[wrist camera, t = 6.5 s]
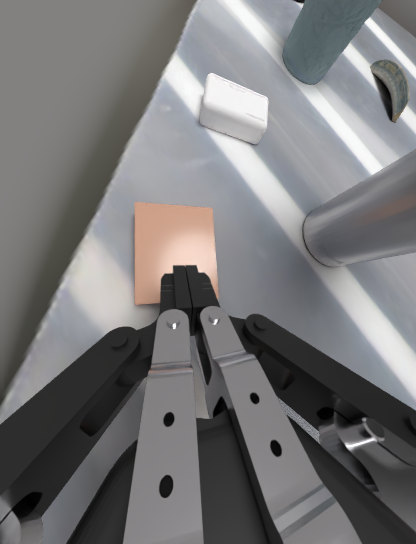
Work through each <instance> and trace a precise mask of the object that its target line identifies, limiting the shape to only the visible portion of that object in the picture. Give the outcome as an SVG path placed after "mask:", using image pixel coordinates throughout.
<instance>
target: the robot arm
mask: <svg viewBox="0 0 416 544" xmlns="http://www.w3.org/2000/svg"><path fill="white" fill-rule="evenodd" d="M303 232H304V239H305V243H306V245H307V247H308V249H309V251H310V252H311V254H312V255H313V256H314V257H315V258H316V259H317V260H318V261H319V262H321V263H322V264H324V265H327V266H331V267H337V266H343V265H348V264H354V263H359V262H365V261H371V260H377V259H382V258H387V257H393V256H398V255H404V254H409V253H415V252H416V149H415V150H414V151H412V152H410V153H409V154H407V155H405V156H404V157H402V158H400V159H399V160H397V161H395V162H394V163H392V164H390V165H389V166H387V167H385V168H384V169H382V170H380V171H379V172H377V173H375V174H374V175H372V176H370V177H369V178H367V179H365V180H364V181H362V182H360V183H358V184H357V185H355V186H353V187H352V188H350V189H348V190H347V191H345V192H343V193H342V194H340V195H338V196H337V197H335V198H333V199H332V200H330V201H328V202H327V203H325V204H323V205H321V206H320V207H318V208H316V209H315V210H313V211H312V212H311V213H310V214H308V216H307V218H306V220H305V223H304V229H303ZM189 332H190V336H194V335H195V338H196V353H197V357H198V362H199V366H200V370H201V374H202V378H203V383H204V387H205V398H206V405H207V410H208V414H209V419H203V418H196V411H195V395H194V379H193V368H192V365H191V354H190V336H189ZM145 377H147V382H146V389H145V395H144V402H143V409H142V416H141V423H140V430H139V437H138V439H137V440H136V441H135V442H134V443H133V444H132V445H131V446H130V447H128V448H127V449H126V451H125V452H124V453H123V454H122V455H121V456H120V458H119V459H118V460H117V462H116V463H115V464H114V466H113V467H112V469H111V470H110V472H109V473H108V475H107V476H106V478H105V480H104V481H103V483H102V485H101V486H100V488H99V490H98V491H97V493H96V495H95V496H94V498H93V500H92V501H91V503H90V505H89V506H88V508H87V510H86V511H85V513H84V515H83V516H82V518H81V520H80V521H79V523H78V525H77V526H76V528H75V530H74V531H73V533H72V535H71V536H70V538H69V540H68V541H67V543H66V544H416V411H415V410H414V409H412V408H411V407H409V406H407V405H406V404H404V403H403V402H401V401H399V400H398V399H396V398H395V397H393V396H391V395H390V394H388V393H387V392H385V391H383V390H382V389H380V388H378V387H377V386H375V385H374V384H372V383H370V382H369V381H367V380H366V379H364V378H362V377H361V376H359V375H358V374H356V373H354V372H353V371H351V370H350V369H348V368H346V367H345V366H343V365H342V364H340V363H338V362H337V361H335V360H334V359H332V358H330V357H329V356H327V355H325V354H324V353H322V352H321V351H319V350H317V349H316V348H314V347H313V346H311V345H309V344H308V343H306V342H305V341H303V340H301V339H300V338H298V337H297V336H295V335H293V334H292V333H290V332H289V331H287V330H285V329H284V328H282V327H280V326H279V325H277V324H276V323H274V322H272V321H271V320H269V319H268V318H266V317H264V316H262V315H259V314H252V315H249V316H248V317H247V318H246V320H245V319H240V318H234V317H231V316H229V315H228V314H227V313H226V312H225V311H224V310H223V309H222V308H220V305H219V303H218V300H217V297H216V294H215V291H214V289H213V286H212V284H211V280H210V277H209V276H208V275H207V274H206V273H205V272H198V268H197V265H185V266H184V265H173V273H164V275H163V276H162V278H161V289H160V314H159V316H158V318H157V320H156V321H155V322H154V323H152V324H151V325H149V326H147V327H145V328H142V329H139V330H137V331H136V330H135V329H134V328H132V327H119V328H116V329H114V330H112V331H110V332H109V333H107V334H106V335H105V336H104V337H103V338H101V339H100V340H99V341H98V342H97V343H96V344H94V345H93V346H92V347H91V348H90V349H89V350H87V351H86V352H85V353H84V354H83V355H81V356H80V357H79V358H78V359H77V360H76V361H74V362H73V363H72V364H71V365H70V366H69V367H67V368H66V369H65V370H64V371H63V372H61V373H60V374H59V375H58V376H57V377H56V378H54V379H53V380H52V381H51V382H50V383H49V384H47V385H46V386H45V387H44V388H43V389H42V390H40V391H39V392H38V393H37V394H36V395H34V396H33V397H32V398H31V399H30V400H29V401H27V402H26V403H25V404H24V405H23V406H22V407H20V408H19V409H18V410H17V411H16V412H15V413H13V414H12V415H11V416H10V417H9V418H7V419H6V420H5V421H4V422H3V423H2V424H0V544H41V543H42V539H43V521H42V518H41V517H42V516H43V514H44V513H45V511H46V510H47V509H48V507H49V506H50V505H51V503H52V502H53V501H54V499H55V498H56V497H57V495H58V494H59V493H60V491H61V490H62V489H63V487H64V486H65V484H66V483H67V482H68V480H69V479H70V478H71V476H72V475H73V474H74V472H75V471H76V470H77V468H78V467H79V466H80V464H81V463H82V462H83V460H84V459H85V458H86V456H87V455H88V453H89V452H90V451H91V449H92V448H93V447H94V445H95V444H96V443H97V441H98V440H99V439H100V437H101V436H102V435H103V433H104V432H105V431H106V429H107V428H108V426H109V425H110V424H111V422H112V421H113V420H114V418H115V417H116V416H117V414H118V413H119V412H120V410H121V409H122V408H123V406H124V405H125V404H126V402H127V401H128V399H129V398H130V397H131V395H132V394H133V393H134V391H135V390H136V389H137V387H138V386H139V385H140V383H141V382H142V380H143V379H144V378H145ZM277 397H278V398H280V399H281V400H282V401H283V402H284V403H286V404H287V405H288V406H289V407H290V408H292V409H293V410H294V411H295V412H296V413H298V414H299V415H300V416H301V417H302V418H304V419H305V420H306V421H307V422H308V423H309V424H311V425H312V426H313V427H314V428H315V429H317V430H318V431H319V434H320V436H319V442H320V444H319V443H318V442H317V441H316V440H315V439H313V438H312V437H311V436H310V435H309V434H308V433H307V432H306V431H305V430H304V429H302V428H301V427H300V426H299V425H298V424H297V423H296V422H295V421H294V420H293V419H291V418H290V417H289V416H288V415H286V413H285V412H284V410H283V408H282V406H281V404H280V402H279V400H278V398H277Z"/></svg>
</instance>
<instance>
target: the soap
mask: <svg viewBox="0 0 416 544" xmlns="http://www.w3.org/2000/svg"><path fill="white" fill-rule="evenodd" d="M267 112H268V98H267V97H265V96H263V95H261V94H258V93H256V92H254V91H252V90H249V89H248V88H245V87H242V86H240V85H238V84H236V83H233V82H231V81H229V80H226V79H224V78H222V77H220V76H218V75H215V74H213V73H210V74H208V76H207V79H206V83H205V89H204V95H203V101H202V108H201V114H200V123H201V125H203V126H205V127H208V128H210V129H213V130H216V131H219V132H221V133H224V134H227V135H230V136H232V137H235V138H238V139H240V140H243V141H246V142H249V143H251V144H255V145H256V144H258V142H259V141H260V139H261V138H262V136H263V134H264V132H265V131H266V128H267Z"/></svg>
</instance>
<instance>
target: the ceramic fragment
mask: <svg viewBox="0 0 416 544" xmlns="http://www.w3.org/2000/svg"><path fill="white" fill-rule="evenodd" d="M370 68H371V71H372V73H373V74H374V75H375V76H376V77H378V78H379V79H380V80H381V81H382V82H383V83H384V85H385V86H386V87H387V89H388V90H389V92H390V95H391V99H392V106H393V115H392V122H394V123H396V121H397V119H398V118H399V116H400V115H401V113H402V112H403V110H404V109H405V107H406V105H407V103H408V101H409V98H410V96H409V92H410V91H409V84H408V81H407V78H406V75H405V73H404V71H403V69H402V68H401V66H400V65H399V64H397V63H396V62H395V61H392V60H379V61H376V62H374V63H373V64H372V65H371V67H370Z"/></svg>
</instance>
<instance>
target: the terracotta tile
mask: <svg viewBox="0 0 416 544" xmlns="http://www.w3.org/2000/svg"><path fill="white" fill-rule="evenodd" d="M173 265H184V266H185V265H197V268H198V272H205V273H206V274H207V275H208V276H209V277H210V280H211V284H212V286H213V289H214V291H215V294H216V297H217V299H219V293H218V279H217V265H216V252H215V238H214V224H213V210H212V208H205V207H192V206H179V205H166V204H153V203H140V202H135V305H139V304H152V303H160V289H161V278H162V276H163V275H164V273H173Z"/></svg>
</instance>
